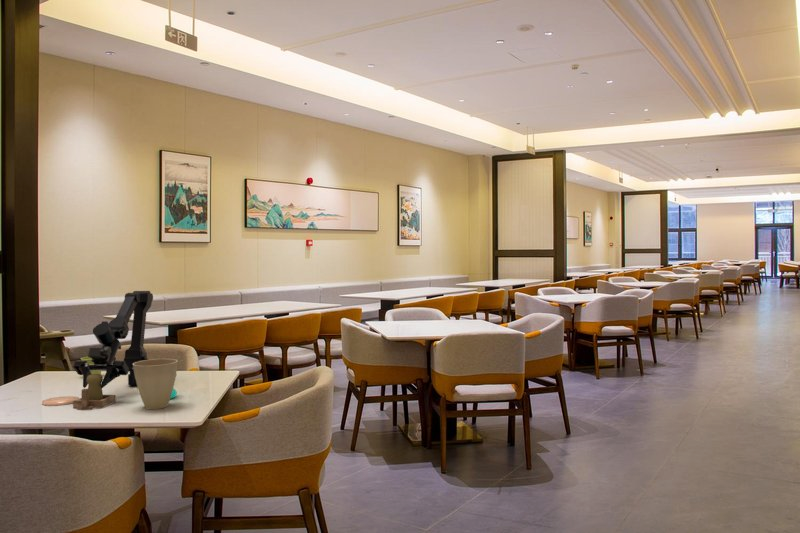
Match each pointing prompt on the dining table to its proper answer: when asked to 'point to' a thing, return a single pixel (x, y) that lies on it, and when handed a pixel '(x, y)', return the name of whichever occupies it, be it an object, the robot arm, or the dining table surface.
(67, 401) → the coaster
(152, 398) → the plant pot
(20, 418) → the dining table surface
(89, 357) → the plant pot
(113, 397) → the collar stand
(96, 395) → the olive bulb shape
